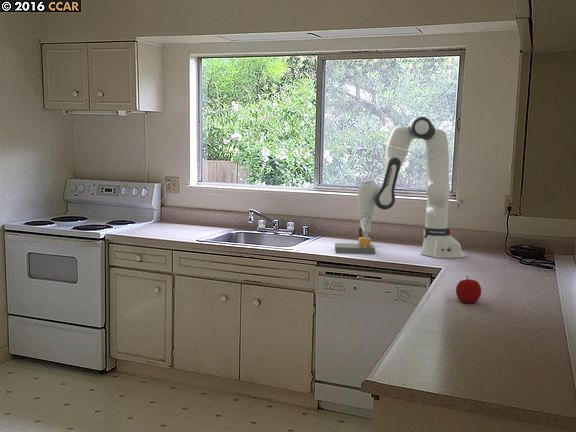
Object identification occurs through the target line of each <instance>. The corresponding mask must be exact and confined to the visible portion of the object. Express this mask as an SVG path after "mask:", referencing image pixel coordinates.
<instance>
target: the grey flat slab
mask: <svg viewBox="0 0 576 432" xmlns="http://www.w3.org/2000/svg"><path fill="white" fill-rule="evenodd" d="M334 251H335V253H336V254H356V255H357V254H359V255H360V254H361V255H376V247H375V245H374V244H373V243H370V247H367V246H364V247H359V244H358V243H356V242H354V243H350V242H334Z"/></svg>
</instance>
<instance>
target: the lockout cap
mask: <svg viewBox="0 0 576 432" xmlns="http://www.w3.org/2000/svg"><path fill="white" fill-rule="evenodd" d="M371 240H372V239H371V237H368V240H365V239H364V237H359V236H358V242H359V247H364V246H367V247H370V244H371V242H372V241H371Z"/></svg>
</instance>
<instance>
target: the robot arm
mask: <svg viewBox="0 0 576 432" xmlns="http://www.w3.org/2000/svg"><path fill="white" fill-rule="evenodd" d="M413 140H423V141H424V142H425V157H426V159H425V161H426V166H425V167H426V170H425V171H426V173H425V177H426V179H425V180H426V181H425V188H426V189H425V193H426V207H425V218H424V221H425V223H424V227H423V241H422V242H423V243H422V246H421V250H420V254H421V255H423V256H425V257H432V258H437V259H442V258H443V259H449V258H450V259H452V258H456V259H457V258H466V253H465V252H463V251H462V246H461V243H460V242H459V241H458V240H457V239H455V238H454V237H453V236H452V234H454V230H453V229H451V228H449V227H448V217H449V204H450V189H451V188H450V181H449V180H450V177H449V176H450V175H449V174H450V171H449V169H450V165H449V164H450V160H449V159H450V156H449V152H450V151H449V150H450V149H449V141H448V136H447V133H446V132H445V131H444V130H443V129H439V128H436V127H435V126H434V125H433V123H432V121H431V120H430V119H429V118H428V117H426V116H417V117H414V118H412V120H411V121H410V122H408V124H407V125H406V126H403V125H398V126H397V125H396V126H395V127H393V129H392V131H391V133H390V135H389V137H388V140H387V143H386V147H385V150H384V152H385V153H384V162H385V173H384V177H383V180H382V184H381V185H380V184H378V183H377V182H375V181H373V180H367V181H362V182H360V183H359V186H358V189H357V201H358V203H357V211H356V214H357V217H359V227H360V226H361V228H362V232H363V237H364V239H365V240H368V236H369V233H370V234H371V232H372V219H373V217H374V216H375V215H376V214H375V210H376V209H375V207H377V208H379V210H384V211H386V210H389V209H391V208H392V207H393V206H394V205H395V202H396V194H395V188H396V184H397V180H398V176H399V173H400V170H401V169H402V166H403V164H404V162H405V160H406V157H407V155H408V152H409V148H410V145H411V142H412V141H413Z"/></svg>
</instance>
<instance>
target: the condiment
mask: <svg viewBox="0 0 576 432" xmlns="http://www.w3.org/2000/svg"><path fill="white" fill-rule="evenodd" d="M370 235H371V232H370V233H369V236H368V237H370ZM359 237H363V232H362V228H361V226H360V225H359V227H358V238H359ZM370 238H371V237H370ZM357 244H359V241H358V243H357Z"/></svg>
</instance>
